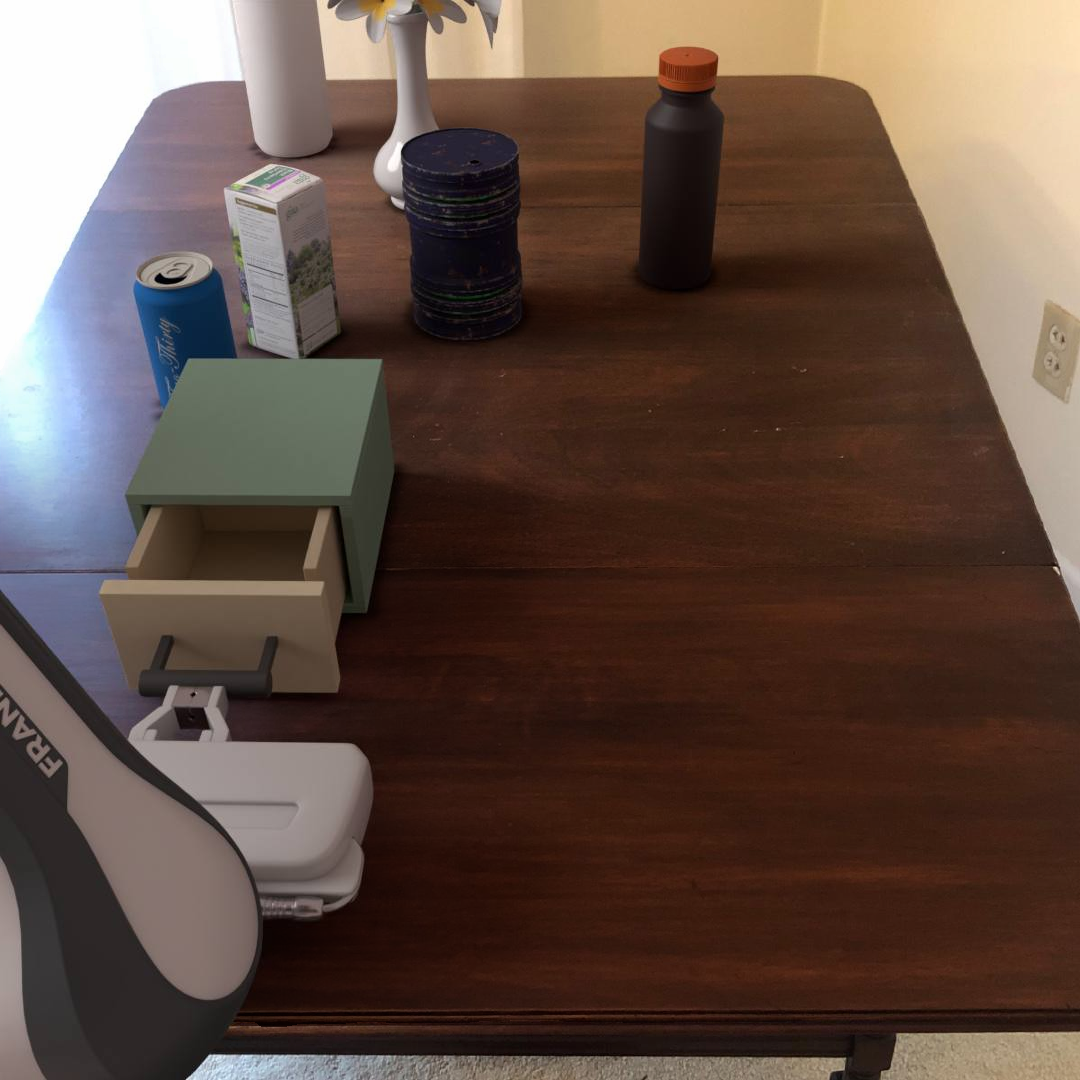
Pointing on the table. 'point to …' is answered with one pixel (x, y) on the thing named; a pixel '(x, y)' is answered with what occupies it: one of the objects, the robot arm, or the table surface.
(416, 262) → the dark blue cylinder
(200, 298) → the beverage can
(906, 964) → the table surface
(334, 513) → the drawer
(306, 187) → the syrup box
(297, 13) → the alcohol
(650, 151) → the bottle
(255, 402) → the cabinet
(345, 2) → the flower vase
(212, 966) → the robot arm
